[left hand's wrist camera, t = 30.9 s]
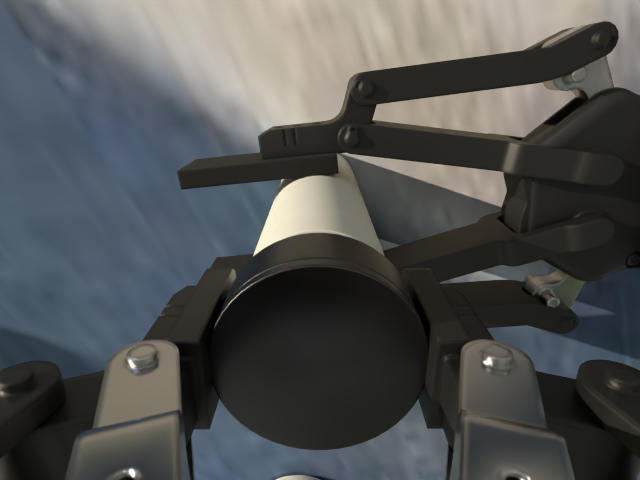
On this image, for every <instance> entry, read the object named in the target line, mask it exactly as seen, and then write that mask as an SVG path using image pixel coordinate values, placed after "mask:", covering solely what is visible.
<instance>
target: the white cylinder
mask: <svg viewBox="0 0 640 480" xmlns="http://www.w3.org/2000/svg"><path fill="white" fill-rule="evenodd" d="M337 158H338V170H339V174H329V175H319V176H309V177H299V178H289V179H282V181H281V184H280V186H279V189H278V192H277V194H276V197H275V200H274V202H273V205H272V208H271V210H270V213H269V216H268V218H267V221H266V223H265V226H264V229H263V231H262V234H261V237H260V239H259V242H258V245H257V247H256V250H255V253H254V255H256V254H257V253H258V252H260V251H261V250H262V249H264V248H265V247H267V246H269V245H271V244H273V243H275V242H277V241H279V240H282V239H285V238H287V237H291V236H295V235H299V234H307V233H331V234H339V235H343V236H347V237H351V238H353V239H356V240H359V241H361V242H363V243H365V244H367V245H369V246H371V247H373V248H374V249H376V250H377V251H378V252H380V253H381V254H382V255H384V253H383V250H382V248H381V245H380V243H379V240H378V237H377V235H376V232H375V229H374V227H373V224H372V221H371V219H370V216H369V213H368V211H367V208H366V206H365V203H364V200H363V198H362V195H361V192H360V190H359V187H358V184H357V182H356V179H355V177H354V174H353V171H352V169H351V167H350V165H349V164H348V162H347V161H346V160H345V159H344V158H343V157H342V156H340V155H339V154H338V153H337ZM254 255H253V256H254Z"/></svg>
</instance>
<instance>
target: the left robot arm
mask: <svg viewBox="0 0 640 480" xmlns="http://www.w3.org/2000/svg"><path fill="white" fill-rule="evenodd" d="M235 278H236V273H235V270H234V269H206V271H205V273H204V274H203V276H202V278H201V279H200V281H199V283H198V284H197V286H186V287H185V288H183V289H182V290H180V291H179V292H177V293H176V294H174V295H173V297H172V298H171V299H170V301H169V302H168V304H167V307H165V308H164V310H163V311H162V313H161V316H159V317H158V319H157V320H156V321H155V323H154V324H153V326H152V327H151V329H150V330H149V332H148V333H147V335H146V336H145V338H144V339H143V341H140V342H136V343H133V344H130V345H128V346H126V347H124V348H122V349H120V350H119V351H117V352H116V353H115V354H113V355H112V356H111V358H110V359H109V360H108V362H107V364H106V367H105V370H104V371H101V372H97V373H93V374H88V375H83V376H78V377H73V378H68V379H63V380H62V377H61V373H60V370H59V367H58V366H57V365H56V364H54V363H52V362H48V361H31V362H25V363H21V364H17V365H14V366H11V367H8V368H6V369H3V370H1V371H0V480H195V470H194V456H193V447H192V440H191V435H192V432H193V430H194V429H210V426H211V423H212V420H213V417H214V413H215V410H216V407H217V404H218V401H219V397H218V395H217V393H216V390H215V388H214V386H213V383H212V378H211V370H210V361H209V342H210V337H211V334H212V331H213V328H214V326H215V323H216V321H217V318H218V316H219V314H220V312H221V309H222V307H223V305H224V302H225V300H226V298H227V295H228V293H229V291H230V288H231V286H232V284H233V282H234V280H235ZM402 278H403V280H404V282H405V284H406V286H407V288H408V291H409V293H410V296H411V298H412V300H413V303H414V305H415V307H416V310H417V312H418V314H419V317H420V319H421V321H422V324H423V326H424V329H425V332H426V334H427V339H428V343H429V354H428V363H427V373H426V381H425V385H424V388H423V390H422V392H421V395H420V396H419V398H418V399H419V402H420V406H421V409H422V412H423V415H424V419H425V422H426V425H427V428H443V429H444V432H445V435H446V438H447V441H448V447H447V456H446V470H445V480H637V478H638V475H639V472H640V371H639V370H637V369H635V368H633V367H630V366H628V365H625V364H622V363H618V362H614V361H609V360H590V361H586V362H584V363H582V364H581V365H580V367H579V370H578V373H577V377H576V379H571V378H566V377H561V376H556V375H551V374H546V373H542V372H538V371H535V367H534V364H533V362H532V360H531V359H530V358H529V356H528V355H527V354H525V353H524V352H523V351H521V350H520V349H518V348H516V347H514V346H512V345H510V344H507V343H504V342H500V341H496V340H494V339H493V337H492V336H491V334H490V333H489V331H488V330H487V328H486V327H485V325H484V324H483V322H482V321H481V319H480V318H479V316H477V313H476V312H475V310H474V309H473V307H471V304H470V303H469V301H468V300H467V298H466V297H465V295H464V294H462V293H461V292H459V291H458V290H456V289H455V288H453V287H452V286H450V285H440V283H439V281H438V280H437V278H436V276H435V275H434V273H433V271H432V270H431V269H430V268H404V269H403V272H402Z"/></svg>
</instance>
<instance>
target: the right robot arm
mask: <svg viewBox="0 0 640 480" xmlns="http://www.w3.org/2000/svg"><path fill="white" fill-rule="evenodd" d="M617 41H618V30H617V28H616V26H615V25H614V24H612V23H611V22H605V21H604V22H599V23H594V24H588V25H584V26H579V27H574V28H569V29H565V30H562V31H560V32H558V33H556V34H554V35H552V36H550V37H548V38H546V39H545V40H543V41H541V42H539V43H537V44H535V45H533V46H531V47H529V48H527V49H525V50H523V51H517V52H509V53H502V54H495V55H487V56H480V57H472V58H465V59H458V60H450V61H443V62H435V63H428V64H421V65H413V66H406V67H399V68H391V69H384V70H376V71H369V72H362V73H358V74H355V75H354V76H353V77H351V78H350V80H349V82H348V87H347V91H346V95H345V99H344V103H343V107H342V109H341V111H340V113H339V114H338V115H337V116H336V117H335V118H333V119H332V120H328V121H322V122H312V123H303V124H293V125H284V126H274V127H272V128H270V129H268V130H266V131H264V132H263V133H262V134H260V135H259V136H258V139H259V146H260V152H261V153H252V154H243V155H233V156H223V157H214V158H204V159H196V160H194V161H192V162H191V163H189V164H188V165H186V166H185V167H183V168H182V169H180V170H178V171H177V173H178V178H179V182H180V187H181V189H190V188H200V187H210V186H220V185H230V184H240V183H250V182H260V181H270V180H280V179H289V178H299V177H309V176H319V175H329V174H339V170H338V158H337V153H346V152H347V153H350V154H356V155H365V156H374V157H382V158H391V159H399V160H408V161H416V162H425V163H434V164H442V165H451V166H459V167H468V168H477V169H485V170H494V171H501V172H504V179H505V183H506V187H507V193H506V196H505V199H504V202H503V205H502V211H500V212H497V213H494V214H490V215H487V216H484V217H482V218H481V219H480V220H479V221H478V222H477V223H475V224H471V225H468V226H465V227H461V228H458V229H455V230H451V231H448V232H445V233H441V234H438V235H434V236H431V237H428V238H424V239H421V240H418V241H414V242H411V243H408V244H404V245H401V246H398V247H394V248H391V249H388V250H384V251H383V253H384V256H385V257H386V258H387V259H388V260H389V261H390V262H391V263H392V264H393V265H394V267H395V268H396V269H397V270H398V272H399V273H400V275H401V277H402V272H403V269H404V268H430V269H431V270H432V271H433V273H434V275H435V276H436V278H437V280H438V281H439V282H442V281H445V280H449V279H452V278H456V277H459V276H463V275H466V274H470V273H473V272H477V271H480V270H484V269H487V268H491V267H494V266H498V265H507V266H519V265H523V264H527V263H530V262H534V261H537V260H541V259H542V260H544V261H545V262H547V263H549V264H550V265H552V266H554V267H556V269H555V271H553V272H552V273H551V274H549V275H546V276H534V275H529V276H527V277H526V278H525V280H524V282H521V281H515V280H491V281H477V282H462V283H448V284H440V285H450V286H452V287H453V288H455V289H456V290H458V291H459V292H461V293H462V294H464V295H465V297H466V298H467V300H468V301H469V303H470V304H471V307H473V309H474V310H475V312H476V313H477V316H479V318H480V319H481V321H482V322H483V324H484V325H485V327H486V328H492V327H507V326H522V325H528V326H532V327H536V328H540V329H544V330H548V331H552V332H556V333H562V334H565V333H569V332H571V331H573V330H574V329H575V328H576V327H577V325H578V322H579V320H578V316H577V315H576V314H575V313H574V312H573V311H572V310H571V309H570V308H571V306H572V304H573V303H574V301H575V299H576V297H577V296H578V294H579V292H580V290H581V288H582V287H583V285H584V283H585V281H595V280H599V279H601V278H603V277H605V276H607V275H609V274H610V273H613V272H615V271H618V270H621V269H625V268H640V95H637V94H635V93H633V92H631V91H629V90H627V89H624V88H618V87H615V88H614V86H613V82H612V77H611V73H610V69H609V65H608V61H607V57H606V55H607V54H609V53H610V52H611V51H612V50H613V49H614V47H615V46H616V44H617ZM540 82H543V84H544V86H545V87H546V88H548V89H550V90H561V91H568V90H572V91H573V92H574V94H575V96H576V97H575V98H574V99H572V100H571V101H570V102H569V103H567V104H566V105H565V106H564V107H562V108H561V109H560V110H559V111H557V112H556V113H555V114H553V115H552V116H551V117H550V118H548V119H547V120H546V121H545V122H543V123H542V124H541V125H539V126H538V127H537V128H536V129H534V130H533V131H532V132H531V133H529V134H528V135H527V136H526V137H515V136H507V135H499V134H483V133H475V132H466V131H458V130H450V129H441V128H433V127H424V126H416V125H408V124H399V123H391V122H383V121H374V120H372V119H373V115H374V112H375V108H376V105H377V104H382V103H390V102H397V101H405V100H413V99H420V98H428V97H435V96H443V95H451V94H458V93H466V92H474V91H481V90H489V89H496V88H504V87H512V86H519V85H527V84H534V83H540ZM253 255H254V254H249V255H238V256H228V257H217V258H216V259H215V261H214V263H213V264H212V266H211V268H210V269H234V270H235V273H236V276H237V275H238V273H239V272H240V270H241V269H242V268H243V267H244V265H245V264H246V263H247V262H248V261H249V260H250V259H251V258H252V257H253Z"/></svg>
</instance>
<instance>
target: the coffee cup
mask: <svg viewBox="0 0 640 480" xmlns="http://www.w3.org/2000/svg"><path fill="white" fill-rule="evenodd" d="M276 480H320V479H318V478H315V477H311V476H305V475H291V476H285V477H281V478H279V479H276Z"/></svg>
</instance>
